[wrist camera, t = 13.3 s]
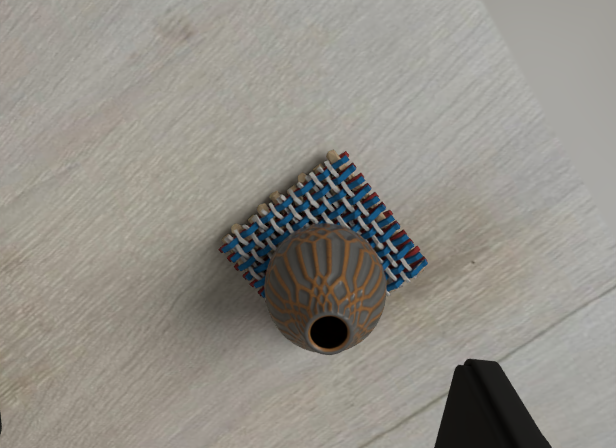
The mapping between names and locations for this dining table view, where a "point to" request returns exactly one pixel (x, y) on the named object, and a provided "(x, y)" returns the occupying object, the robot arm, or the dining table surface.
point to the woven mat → (380, 241)
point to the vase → (325, 288)
